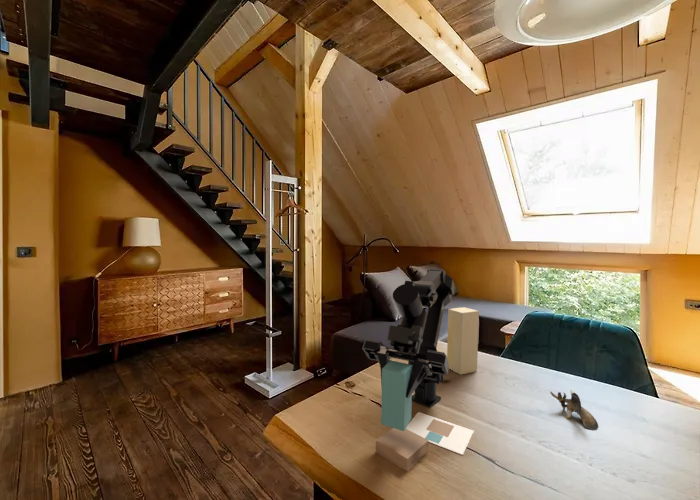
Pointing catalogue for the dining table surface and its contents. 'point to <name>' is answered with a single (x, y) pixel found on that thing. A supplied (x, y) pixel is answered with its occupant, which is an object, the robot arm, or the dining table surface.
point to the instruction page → (441, 432)
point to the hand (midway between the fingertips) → (394, 394)
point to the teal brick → (396, 395)
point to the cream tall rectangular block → (462, 340)
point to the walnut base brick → (402, 447)
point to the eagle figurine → (577, 409)
